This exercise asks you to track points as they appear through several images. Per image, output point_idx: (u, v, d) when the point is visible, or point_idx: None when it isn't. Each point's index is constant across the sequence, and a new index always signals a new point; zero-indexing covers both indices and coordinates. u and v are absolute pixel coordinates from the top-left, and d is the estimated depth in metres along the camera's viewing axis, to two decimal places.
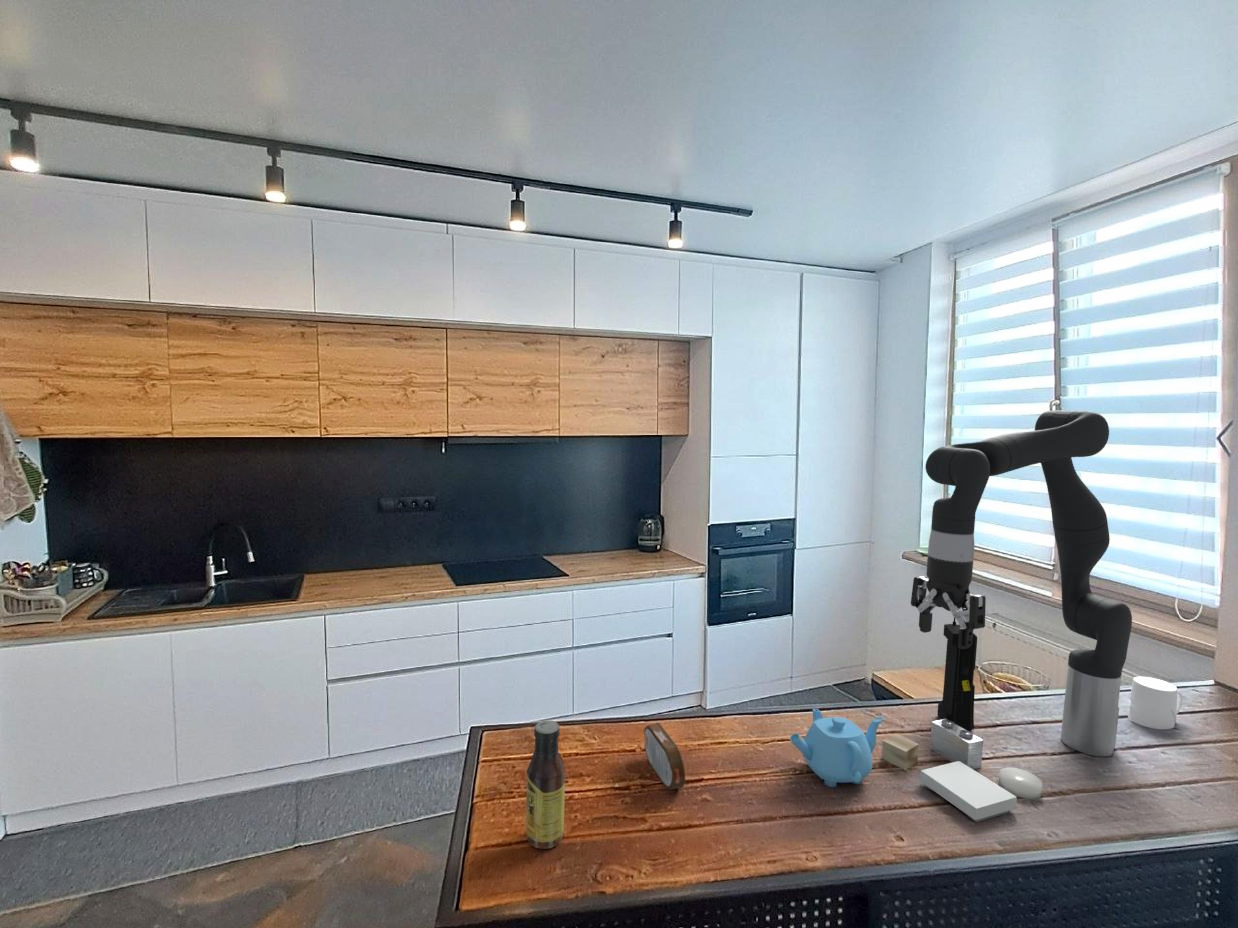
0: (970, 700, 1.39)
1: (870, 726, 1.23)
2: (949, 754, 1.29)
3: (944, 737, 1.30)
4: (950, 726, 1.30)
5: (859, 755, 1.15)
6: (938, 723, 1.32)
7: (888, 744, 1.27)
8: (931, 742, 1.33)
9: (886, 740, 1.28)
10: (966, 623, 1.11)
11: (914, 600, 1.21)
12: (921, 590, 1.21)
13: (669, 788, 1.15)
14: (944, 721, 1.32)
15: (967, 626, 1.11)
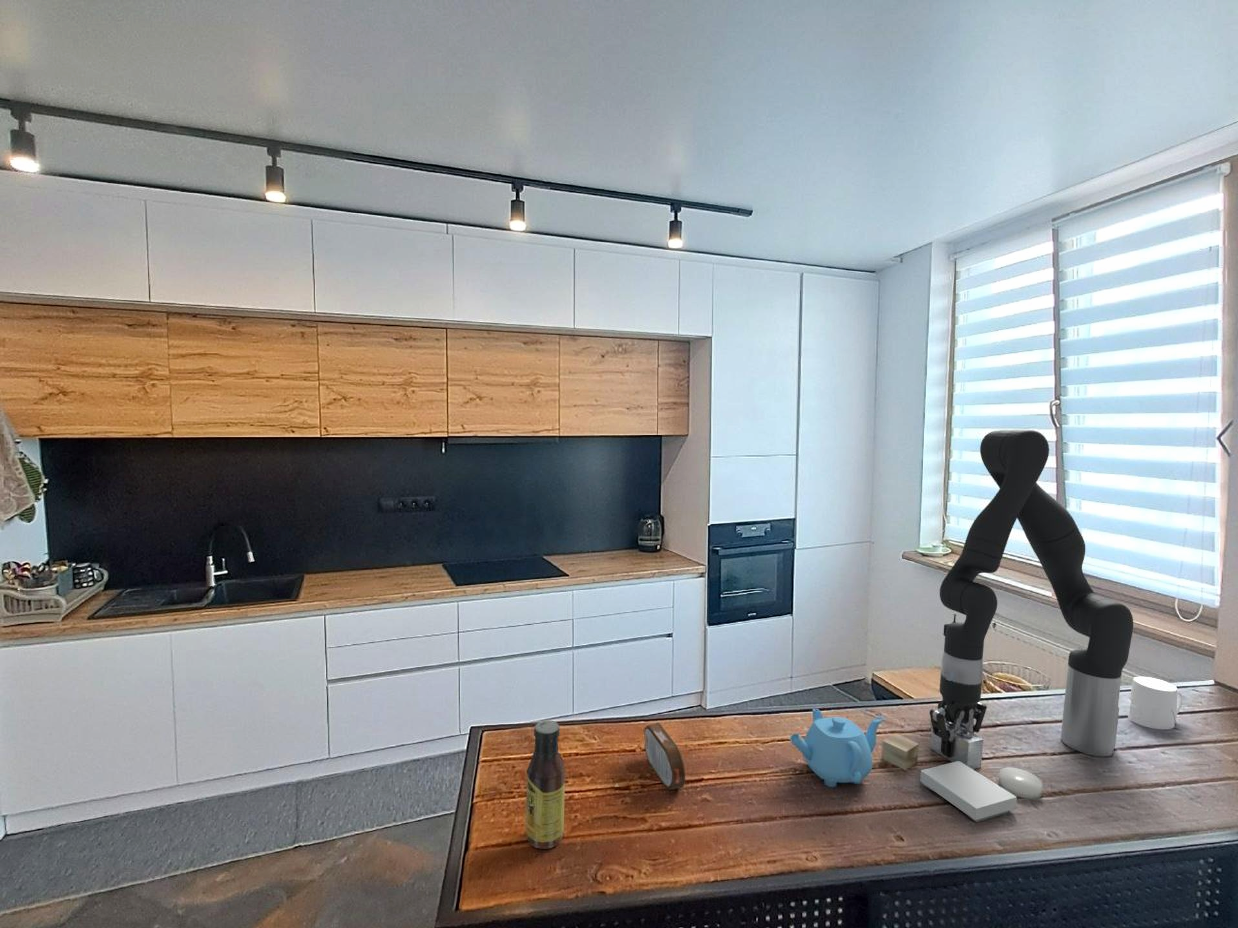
0: None
1: (870, 726, 1.23)
2: None
3: None
4: None
5: (859, 755, 1.15)
6: None
7: (888, 744, 1.27)
8: (931, 741, 1.33)
9: (886, 740, 1.28)
10: (971, 730, 1.30)
11: (945, 733, 1.26)
12: None
13: (669, 788, 1.15)
14: None
15: None
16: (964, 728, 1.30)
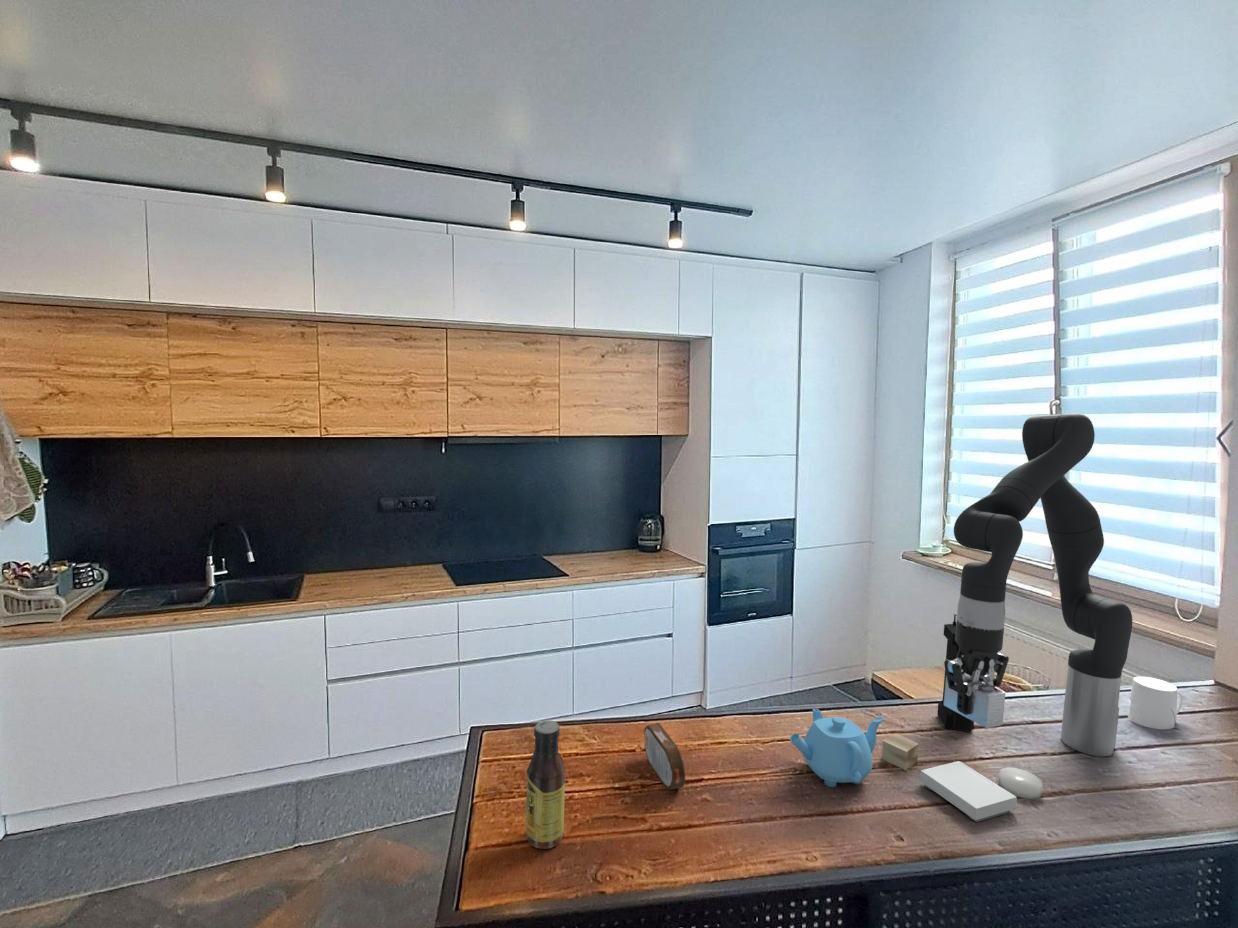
0: None
1: (870, 726, 1.23)
2: None
3: None
4: None
5: (859, 755, 1.15)
6: None
7: (888, 744, 1.27)
8: (945, 698, 1.18)
9: (886, 740, 1.28)
10: (991, 684, 1.14)
11: (962, 687, 1.11)
12: None
13: (669, 788, 1.15)
14: None
15: None
16: None
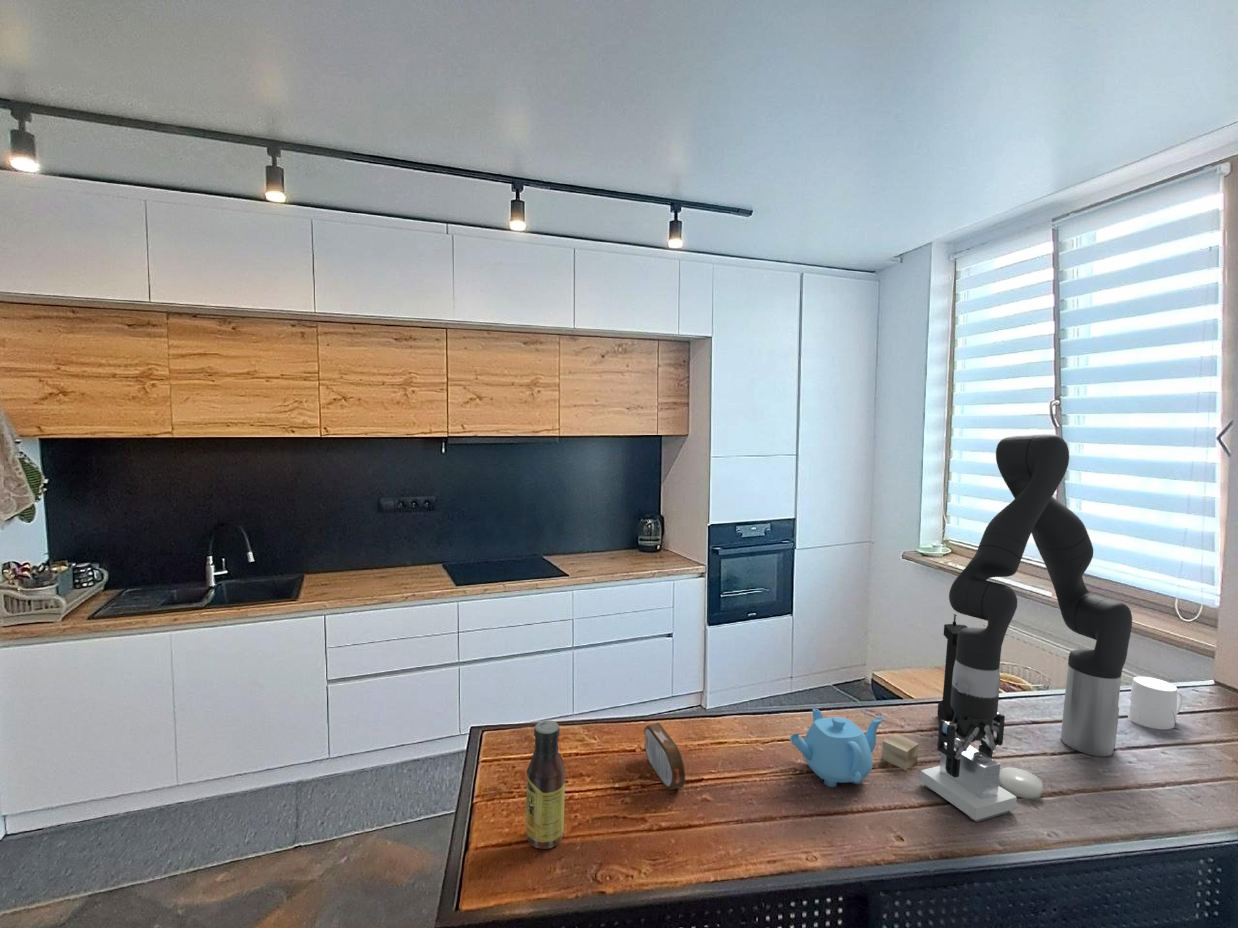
0: None
1: (870, 726, 1.23)
2: (961, 779, 1.15)
3: None
4: None
5: (859, 755, 1.15)
6: None
7: (888, 744, 1.27)
8: (941, 765, 1.19)
9: (886, 740, 1.28)
10: None
11: (952, 750, 1.12)
12: None
13: (669, 788, 1.15)
14: None
15: None
16: None
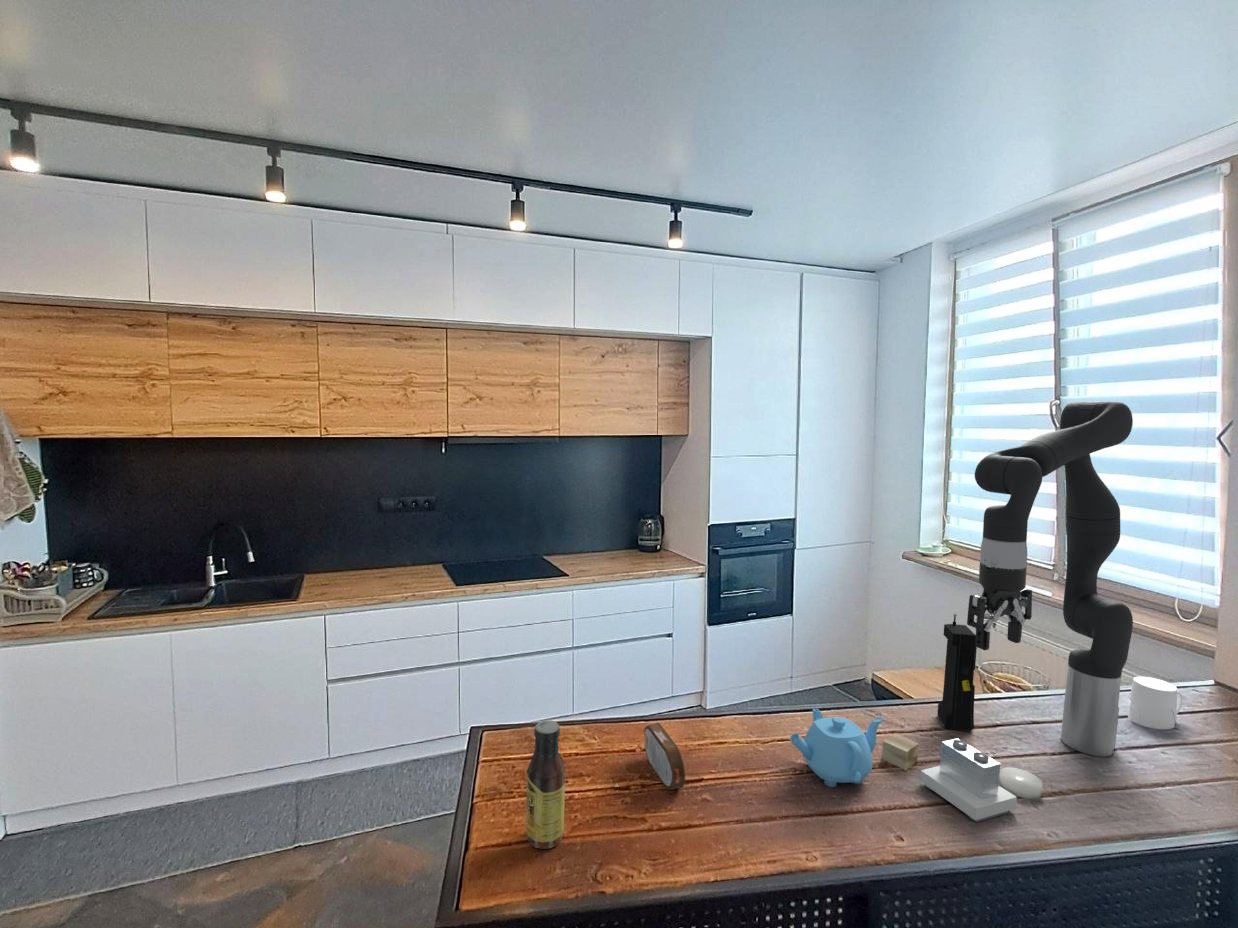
0: (970, 700, 1.39)
1: (870, 726, 1.23)
2: (961, 779, 1.15)
3: (956, 760, 1.16)
4: (962, 747, 1.16)
5: (859, 755, 1.15)
6: (948, 744, 1.18)
7: (888, 744, 1.27)
8: (941, 765, 1.19)
9: (886, 740, 1.28)
10: None
11: (982, 622, 1.14)
12: None
13: (669, 788, 1.15)
14: (956, 741, 1.18)
15: None
16: (1014, 616, 1.20)
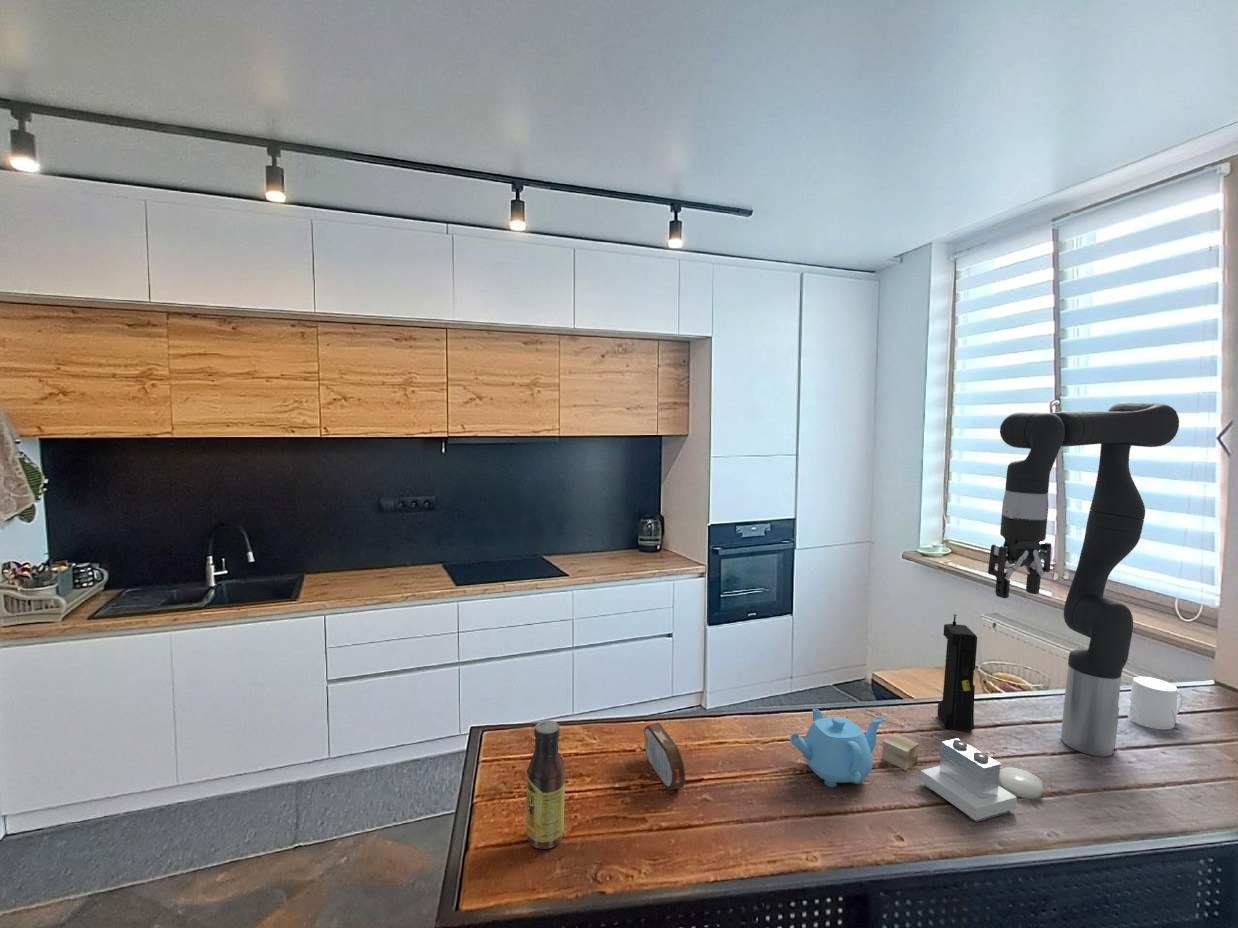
0: (970, 700, 1.39)
1: (870, 726, 1.23)
2: (961, 779, 1.15)
3: (956, 760, 1.16)
4: (962, 747, 1.16)
5: (859, 755, 1.15)
6: (948, 744, 1.18)
7: (888, 744, 1.27)
8: (941, 765, 1.19)
9: (886, 740, 1.28)
10: None
11: (1002, 570, 1.19)
12: None
13: (669, 788, 1.15)
14: (956, 741, 1.18)
15: None
16: (1033, 568, 1.24)
